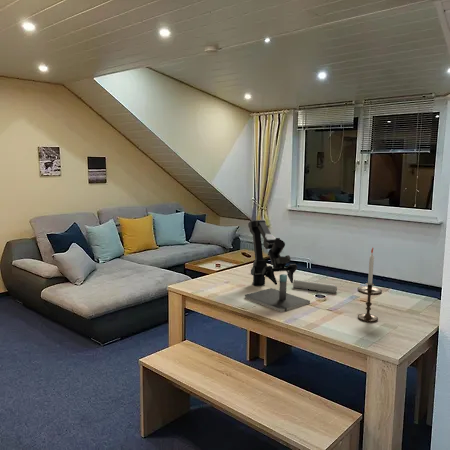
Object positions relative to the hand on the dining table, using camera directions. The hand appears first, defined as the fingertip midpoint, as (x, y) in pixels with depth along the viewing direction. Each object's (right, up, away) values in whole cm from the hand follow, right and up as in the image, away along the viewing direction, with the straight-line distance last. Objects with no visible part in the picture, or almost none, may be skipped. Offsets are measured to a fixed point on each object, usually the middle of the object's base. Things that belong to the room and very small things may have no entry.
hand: (284, 283), depth 218 cm
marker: (-1, -8, +3) cm, 9 cm away
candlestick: (+37, -14, -19) cm, 44 cm away
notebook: (-4, -11, +6) cm, 13 cm away
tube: (+21, -8, +25) cm, 34 cm away
